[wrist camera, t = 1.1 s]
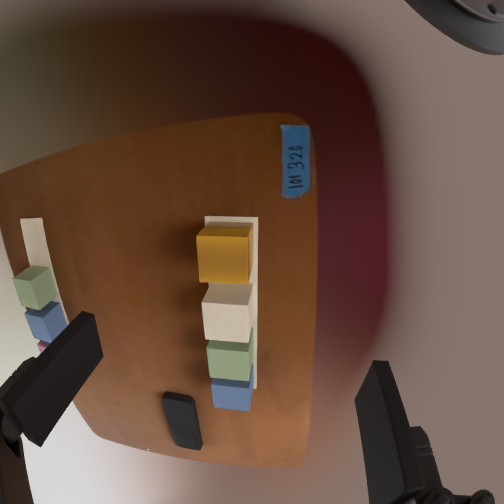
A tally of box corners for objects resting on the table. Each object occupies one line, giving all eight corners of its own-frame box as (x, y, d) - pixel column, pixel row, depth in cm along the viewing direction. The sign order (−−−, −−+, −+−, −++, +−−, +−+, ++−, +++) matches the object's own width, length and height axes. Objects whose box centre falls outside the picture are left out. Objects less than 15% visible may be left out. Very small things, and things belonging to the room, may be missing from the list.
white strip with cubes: (204, 215, 29) (190, 229, 25) (257, 217, 28) (252, 231, 24) (218, 384, 37) (211, 408, 33) (256, 388, 37) (252, 413, 33)
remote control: (164, 388, 40) (177, 441, 45) (160, 396, 38) (174, 448, 43) (195, 394, 40) (203, 446, 45) (192, 402, 38) (201, 453, 43)
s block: (208, 221, 29) (195, 235, 25) (253, 222, 29) (247, 237, 24) (210, 262, 31) (199, 282, 27) (253, 264, 30) (247, 285, 26)
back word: (20, 218, 32) (-2, 228, 28) (42, 217, 31) (19, 228, 27) (60, 351, 40) (46, 366, 36) (82, 357, 40) (68, 375, 36)
